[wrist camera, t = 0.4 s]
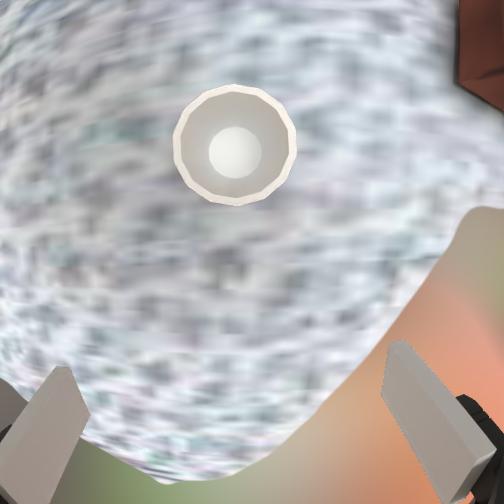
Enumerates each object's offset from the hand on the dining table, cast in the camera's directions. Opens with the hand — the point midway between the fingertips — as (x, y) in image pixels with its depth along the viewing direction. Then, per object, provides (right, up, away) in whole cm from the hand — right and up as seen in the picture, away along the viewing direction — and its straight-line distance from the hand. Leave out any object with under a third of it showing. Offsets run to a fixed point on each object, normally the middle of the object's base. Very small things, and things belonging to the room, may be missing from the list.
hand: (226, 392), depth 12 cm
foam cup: (-1, +17, +24) cm, 30 cm away
